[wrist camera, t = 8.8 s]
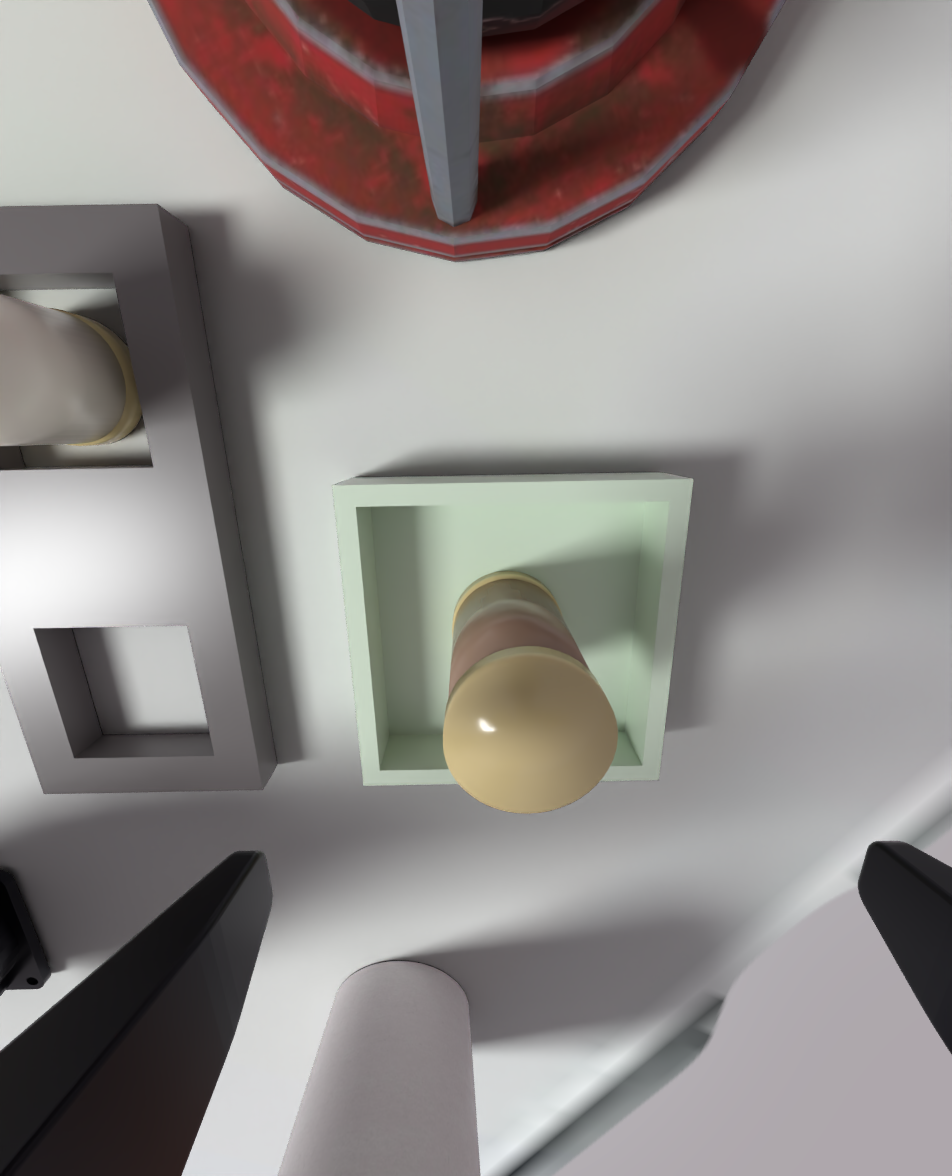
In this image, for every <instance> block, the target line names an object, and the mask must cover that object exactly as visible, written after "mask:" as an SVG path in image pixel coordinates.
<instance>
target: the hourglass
mask: <svg viewBox="0 0 952 1176" xmlns="http://www.w3.org/2000/svg"><path fill="white" fill-rule="evenodd" d="M147 1H148V3H149V5H150V7H151V9H152V11H153V13H154V15H155V17H156V19H157V21H158V23H159V25H160V27H161V29H162V31H163V33H164V35H165V37H166V39H167V41H168V42H169V44H170V46H171V48H172V50H173V52H174V54H175V56H176V58H177V60H178V62H179V64H180V66H181V67H182V68H183V69H184V71H185V72H186V73H187V74H188V76H189V77H190V78H191V79H192V81H193V82H194V83H195V84H196V86H197V87H198V88H199V89H200V91H201V92H202V93H203V94H204V95H205V97H206V98H207V99H208V101H209V102H210V103H211V104H212V105H213V107H214V108H215V109H216V110H217V111H218V112H219V114H220V115H221V116H222V117H223V118H224V119H225V121H226V122H227V123H228V124H229V125H230V126H231V128H232V129H233V130H234V131H235V132H236V133H237V134H238V136H239V137H240V138H241V139H242V140H243V141H244V143H245V144H246V145H247V146H248V147H249V148H250V150H251V151H252V152H253V153H254V154H255V155H256V156H257V158H258V159H259V160H260V161H261V162H262V163H263V165H264V166H265V167H266V168H267V169H268V170H269V172H270V173H271V174H272V175H273V176H274V177H275V179H276V180H277V181H278V182H279V183H280V184H281V185H282V187H283V188H285V189H286V190H288V191H289V192H291V193H292V194H294V195H296V196H297V197H299V198H300V199H302V200H303V201H305V202H307V203H308V204H310V205H311V206H313V207H314V208H316V209H317V210H319V211H321V212H322V213H324V214H325V215H327V216H328V217H330V218H332V219H333V220H335V221H336V222H338V223H339V224H341V225H343V226H344V227H346V228H347V229H349V230H350V231H352V232H354V233H355V234H357V235H358V236H360V237H361V238H363V239H365V240H366V241H368V242H373V243H377V244H381V245H385V246H390V247H394V248H398V249H402V250H406V251H411V252H415V253H419V254H423V255H428V256H432V257H436V258H440V259H445V260H449V261H453V262H460V261H468V260H475V259H483V258H491V257H498V256H506V255H514V254H522V253H529V252H537V251H544V250H546V249H548V248H550V247H552V246H554V245H556V244H558V243H560V242H562V241H563V240H565V239H567V238H569V237H571V236H573V235H575V234H577V233H579V232H581V231H583V230H585V229H587V228H589V227H590V226H592V225H594V224H596V223H598V222H600V221H602V220H604V219H606V218H608V217H610V216H612V215H614V214H616V213H617V212H619V211H621V210H623V209H625V208H627V207H629V206H630V205H631V204H632V203H633V202H634V201H635V200H636V199H637V198H638V197H639V196H640V195H641V194H642V193H643V192H644V191H645V190H646V189H647V188H648V187H649V186H650V185H651V184H652V183H653V182H654V181H655V180H656V179H657V178H658V177H659V176H660V175H661V174H662V173H663V172H664V171H665V170H666V169H667V168H668V167H669V166H670V165H671V164H672V163H673V162H674V161H675V160H676V159H677V158H678V157H679V156H680V155H681V154H682V153H683V152H684V151H685V150H686V149H687V148H688V147H689V146H690V145H691V144H692V143H693V142H694V141H695V140H696V139H697V138H698V137H699V136H700V135H701V134H702V133H703V132H704V130H705V129H706V128H707V126H708V125H709V124H710V123H711V121H712V120H713V119H714V117H715V116H716V115H717V114H718V112H719V111H720V110H721V108H722V107H723V106H724V104H725V103H726V102H727V101H728V99H729V98H730V97H731V95H732V93H733V91H734V90H735V88H736V86H737V84H738V83H739V81H740V79H741V77H742V76H743V74H744V72H745V70H746V69H747V67H748V65H749V63H750V62H751V60H752V58H753V57H754V55H755V53H756V51H757V50H758V48H759V46H760V44H761V43H762V41H763V39H764V37H765V36H766V34H767V32H768V30H769V29H770V27H771V25H772V23H773V22H774V20H775V18H776V17H777V15H778V13H779V11H780V10H781V8H782V6H783V4H784V3H785V1H786V0H147Z"/></svg>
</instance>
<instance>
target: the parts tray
mask: <svg viewBox="0 0 952 1176" xmlns="http://www.w3.org/2000/svg"><path fill="white" fill-rule="evenodd" d="M693 480H694V479H691V478H687V477H682V476H677V475H672V474H668V473H663V472H634V473H578V474H522V475H466V476H410V477H355V478H350V479H348V480H345V481H342V482H340V483H337V484H334V485H332V490H333V500H334V510H335V519H336V529H337V538H338V548H339V557H340V567H341V576H342V586H343V596H344V605H345V615H346V624H347V634H348V643H349V653H350V663H351V672H352V682H353V691H354V701H355V710H356V720H357V729H358V739H359V749H360V758H361V768H362V777H363V786H382V785H435V784H458V783H457V781H456V780H455V778H454V777H453V775H452V774H451V772H450V770H449V768H448V765H447V763H446V760H445V756H444V750H443V729H444V717H445V710H446V704H447V701H448V695H449V682H450V669H451V656H452V643H453V637H452V623H453V614H454V609H455V606H456V603H457V601H458V599H459V597H460V596H461V594H462V593H463V592H464V590H465V589H466V588H467V587H468V586H469V585H470V584H471V583H473V582H474V581H476V580H477V579H479V578H480V577H482V576H484V575H487V574H490V573H493V572H498V571H517V572H522V573H525V574H528V575H530V576H532V577H534V578H536V579H538V580H539V581H540V582H542V583H543V584H544V585H545V586H546V587H547V588H548V589H549V590H550V592H551V593H552V595H553V596H554V598H555V600H556V602H557V604H558V606H559V608H560V610H561V613H562V616H563V619H564V621H565V623H566V625H567V627H568V629H569V630H570V632H571V634H572V636H573V638H574V640H575V642H576V644H577V646H578V648H579V650H580V652H581V654H582V656H583V658H584V660H585V662H586V663H587V665H588V667H589V669H590V671H591V673H592V674H593V675H594V676H595V678H596V679H597V681H598V682H599V684H600V686H601V688H602V689H603V691H604V693H605V695H606V697H607V699H608V701H609V703H610V705H611V707H612V709H613V711H614V714H615V718H616V721H617V728H618V742H617V748H616V752H615V755H614V758H613V761H612V763H611V765H610V767H609V769H608V771H607V772H606V774H605V775H604V777H603V778H602V779H601V780H600V781H647V780H659V774H660V765H661V756H662V748H663V739H664V730H665V722H666V713H667V705H668V696H669V687H670V679H671V670H672V661H673V653H674V644H675V635H676V627H677V618H678V609H679V601H680V592H681V584H682V575H683V566H684V558H685V549H686V540H687V532H688V523H689V514H690V506H691V497H692V488H693Z"/></svg>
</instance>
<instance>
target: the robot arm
mask: <svg viewBox="0 0 952 1176" xmlns="http://www.w3.org/2000/svg"><path fill="white" fill-rule="evenodd" d="M858 890H859V894H860V897H861V900H862V902H863V904H864V906H865V907H866V909H867V911H868V913H869V915H870V916H871V918H872V920H873V922H874V923H875V925H876V927H877V929H878V930H879V932H880V934H881V936H882V938H883V939H884V941H885V943H886V944H887V946H888V948H889V950H890V951H891V953H892V955H893V957H894V959H895V960H896V962H897V964H898V966H899V968H900V969H901V971H902V973H903V975H904V976H905V978H906V980H907V982H908V983H909V985H910V987H911V989H912V991H913V992H914V994H915V996H916V998H917V999H918V1001H919V1003H920V1004H921V1006H922V1008H923V1010H924V1011H925V1013H926V1014H927V1016H928V1018H929V1020H930V1021H931V1023H932V1025H933V1026H934V1028H935V1029H936V1031H937V1032H938V1034H939V1036H940V1037H941V1039H942V1040H943V1042H944V1043H945V1045H946V1047H947V1048H948V1049H949V1051H950V1053H951V1054H952V867H950V866H948V865H946V864H944V863H943V862H941V861H939V860H937V859H935V858H933V857H932V856H930V855H928V854H926V853H924V852H922V851H921V850H919V849H917V848H915V847H913V846H912V845H910V844H908V843H905V842H901V841H875V842H873V843H871V844H870V845H869V847H868V849H867V852H866V856H865V859H864V862H863V866H862V869H861V873H860V876H859V880H858ZM271 906H272V887H271V881H270V876H269V871H268V866H267V860H266V857H265V854H264V853H263V852H261V851H237V852H234V853H233V854H231V855H230V856H228V857H227V858H226V859H225V860H224V861H222V862H221V863H220V864H219V865H218V866H217V867H215V868H214V869H213V870H212V871H211V872H210V873H208V874H207V875H206V876H205V877H204V878H203V879H201V880H200V881H199V882H198V883H197V884H195V885H194V886H193V887H192V888H191V889H190V890H188V891H187V892H186V893H185V894H184V895H183V896H181V897H180V898H179V899H178V900H177V901H176V902H174V903H173V904H172V905H171V906H170V907H168V908H167V909H166V910H165V911H164V912H163V913H161V914H160V915H159V916H158V917H157V918H156V919H154V920H153V921H152V922H151V923H150V924H149V925H147V926H146V927H145V928H144V929H143V930H142V931H140V932H139V933H138V934H137V935H136V936H134V937H133V938H132V939H131V940H130V941H129V942H127V943H126V944H125V945H124V946H123V947H122V948H120V949H119V950H118V951H117V952H116V953H115V954H113V955H112V956H111V957H110V958H109V959H108V960H106V961H105V962H104V963H103V964H102V965H100V966H99V967H98V968H97V969H96V970H95V971H93V972H92V973H91V974H90V975H89V976H88V977H86V978H85V979H84V980H83V981H82V982H81V983H79V984H78V985H77V986H76V987H75V988H74V989H72V990H71V991H70V992H69V993H68V994H66V995H65V996H64V997H63V998H62V999H61V1000H59V1001H58V1002H57V1003H56V1004H55V1005H54V1006H52V1007H51V1008H50V1009H49V1010H48V1011H47V1012H45V1013H44V1014H43V1015H42V1016H41V1017H39V1018H38V1019H37V1020H36V1021H35V1022H34V1023H32V1024H31V1025H30V1026H29V1027H28V1028H27V1029H25V1030H24V1031H23V1032H22V1033H21V1034H20V1035H18V1036H17V1037H16V1038H15V1039H14V1040H13V1041H11V1042H10V1043H9V1044H8V1045H7V1046H5V1047H4V1048H3V1049H2V1050H1V1051H0V1176H181V1175H182V1173H183V1170H184V1167H185V1165H186V1162H187V1159H188V1157H189V1154H190V1152H191V1149H192V1146H193V1144H194V1141H195V1138H196V1136H197V1133H198V1131H199V1128H200V1125H201V1123H202V1120H203V1117H204V1115H205V1112H206V1110H207V1107H208V1104H209V1102H210V1099H211V1096H212V1094H213V1091H214V1089H215V1086H216V1083H217V1081H218V1078H219V1076H220V1073H221V1070H222V1068H223V1065H224V1062H225V1060H226V1057H227V1054H228V1052H229V1049H230V1046H231V1043H232V1040H233V1038H234V1035H235V1032H236V1028H237V1025H238V1022H239V1019H240V1015H241V1012H242V1009H243V1005H244V1002H245V998H246V995H247V991H248V988H249V984H250V981H251V977H252V974H253V970H254V967H255V963H256V960H257V956H258V953H259V949H260V946H261V942H262V939H263V935H264V932H265V928H266V925H267V921H268V918H269V914H270V911H271ZM50 976H51V971H50V968H49V966H48V963H47V961H46V958H45V956H44V953H43V950H42V948H41V945H40V943H39V940H38V938H37V935H36V933H35V930H34V928H33V925H32V922H31V920H30V917H29V915H28V912H27V910H26V907H25V905H24V902H23V900H22V897H21V894H20V892H19V889H18V887H17V884H16V882H15V879H14V877H13V876H12V875H11V874H10V873H9V872H7V871H5V870H0V996H1V995H2V993H3V992H4V991H5V990H16V989H39V988H41V987H43V985H44V984H45V983H46V981H47V980H48V979H49V978H50Z"/></svg>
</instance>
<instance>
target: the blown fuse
mask: <svg viewBox="0 0 952 1176" xmlns="http://www.w3.org/2000/svg"><path fill="white" fill-rule="evenodd" d="M452 637H453V643H452V656H451V669H450V682H449V695H448V701H447V704H446V710H445V717H444V729H443V750H444V756H445V760H446V763H447V765H448V768H449V770H450V772H451V774H452V775H453V777H454V778H455V780H456V781H457V783H458V784H459V785H460V786H461V787H462V788H463V789H464V790H465V791H466V792H467V793H468V794H469V795H471V796H472V797H474V798H475V799H477V800H478V801H480V802H482V803H484V804H486V805H488V806H490V807H493V808H496V809H499V810H503V811H507V812H513V813H541V812H546V811H551V810H554V809H558V808H561V807H563V806H566V805H568V804H571V803H572V802H574V801H576V800H578V799H580V798H581V797H583V796H584V795H585V794H587V793H588V792H589V791H590V790H592V789H593V788H594V787H595V786H596V785H597V784H598V783H599V781H600V780H601V779H602V778H603V777H604V775H605V774H606V772H607V771H608V769H609V767H610V765H611V763H612V761H613V758H614V755H615V752H616V748H617V742H618V728H617V721H616V718H615V714H614V711H613V709H612V707H611V705H610V703H609V701H608V699H607V697H606V695H605V693H604V691H603V689H602V688H601V686H600V684H599V682H598V681H597V679H596V678H595V676H594V675H593V674H592V673H591V671H590V669H589V667H588V665H587V663H586V662H585V660H584V658H583V656H582V654H581V652H580V650H579V648H578V646H577V644H576V642H575V640H574V638H573V636H572V634H571V632H570V630H569V629H568V627H567V625H566V623H565V621H564V619H563V616H562V613H561V610H560V608H559V606H558V604H557V602H556V600H555V598H554V596H553V595H552V593H551V592H550V590H549V589H548V588H547V587H546V586H545V585H544V584H543V583H542V582H540V581H539V580H538V579H536V578H534V577H532V576H530V575H528V574H525V573H522V572H517V571H498V572H493V573H490V574H487V575H484V576H482V577H480V578H479V579H477V580H476V581H474V582H473V583H471V584H470V585H469V586H468V587H467V588H466V589H465V590H464V592H463V593H462V594H461V596H460V597H459V599H458V601H457V603H456V606H455V609H454V614H453V623H452Z"/></svg>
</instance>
